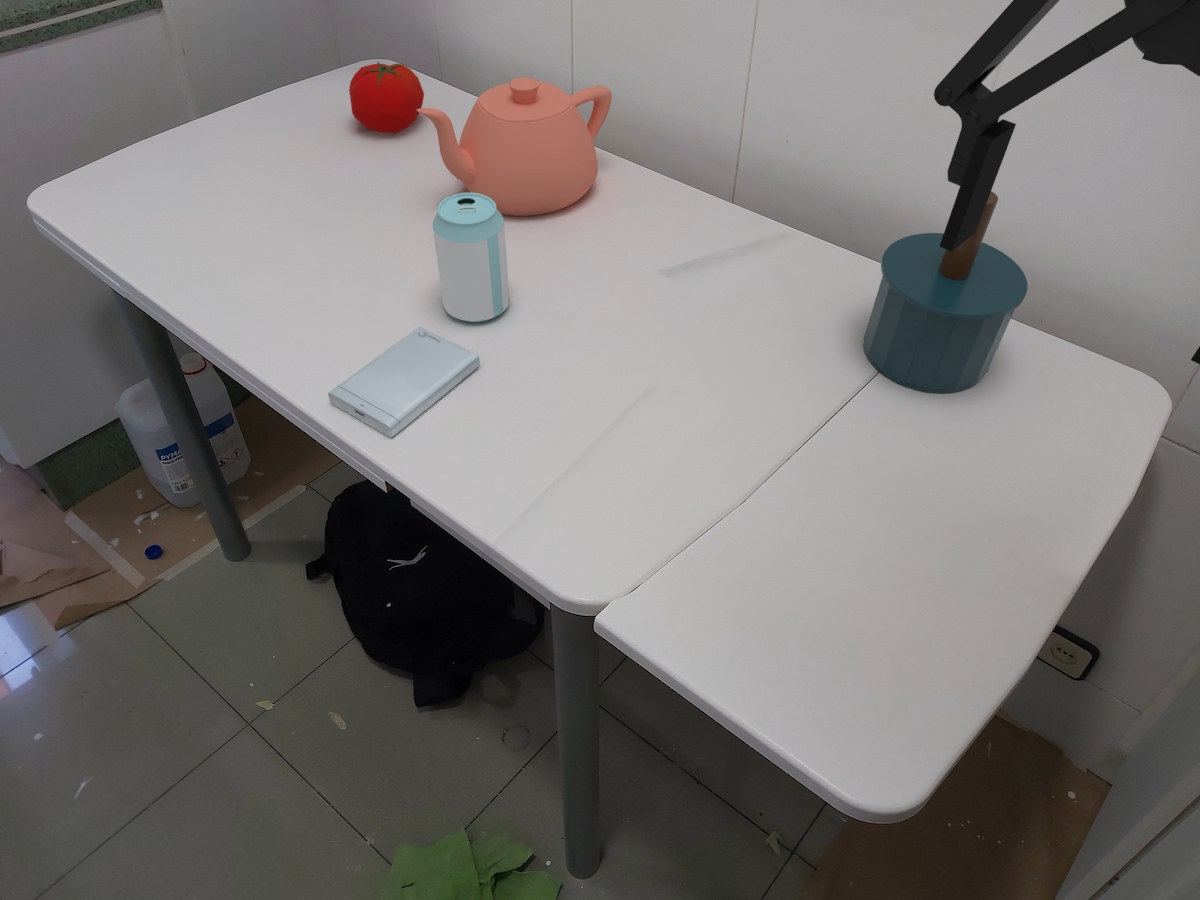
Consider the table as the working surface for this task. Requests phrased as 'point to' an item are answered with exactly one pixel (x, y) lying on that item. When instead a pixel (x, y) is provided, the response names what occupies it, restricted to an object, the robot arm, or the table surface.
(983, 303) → the lid
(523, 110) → the teapot
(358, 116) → the tomato
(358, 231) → the table surface
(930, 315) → the pot
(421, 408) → the hard drive
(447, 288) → the can
